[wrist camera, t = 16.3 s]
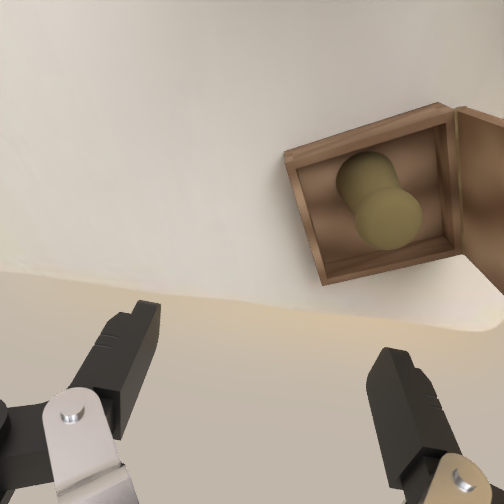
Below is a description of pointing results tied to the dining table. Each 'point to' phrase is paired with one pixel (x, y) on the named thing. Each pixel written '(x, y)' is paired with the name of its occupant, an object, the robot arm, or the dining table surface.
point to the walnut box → (411, 180)
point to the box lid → (481, 190)
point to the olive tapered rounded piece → (378, 201)
